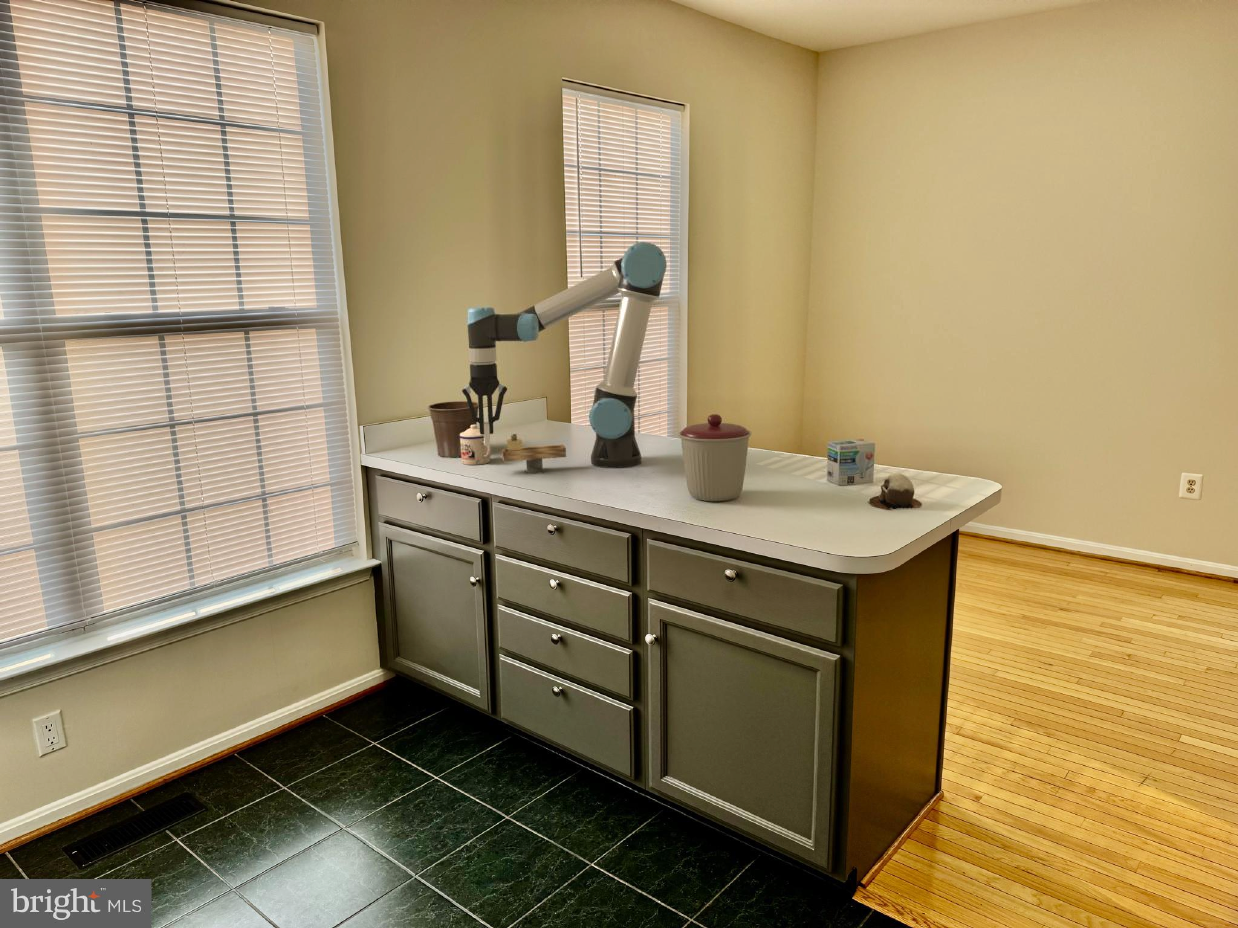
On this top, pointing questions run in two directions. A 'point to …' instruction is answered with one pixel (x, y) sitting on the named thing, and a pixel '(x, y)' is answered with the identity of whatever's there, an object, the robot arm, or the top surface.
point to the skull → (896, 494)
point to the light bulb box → (850, 462)
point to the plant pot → (451, 425)
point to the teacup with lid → (474, 447)
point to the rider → (514, 443)
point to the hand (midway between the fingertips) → (487, 445)
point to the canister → (714, 459)
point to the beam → (534, 456)
